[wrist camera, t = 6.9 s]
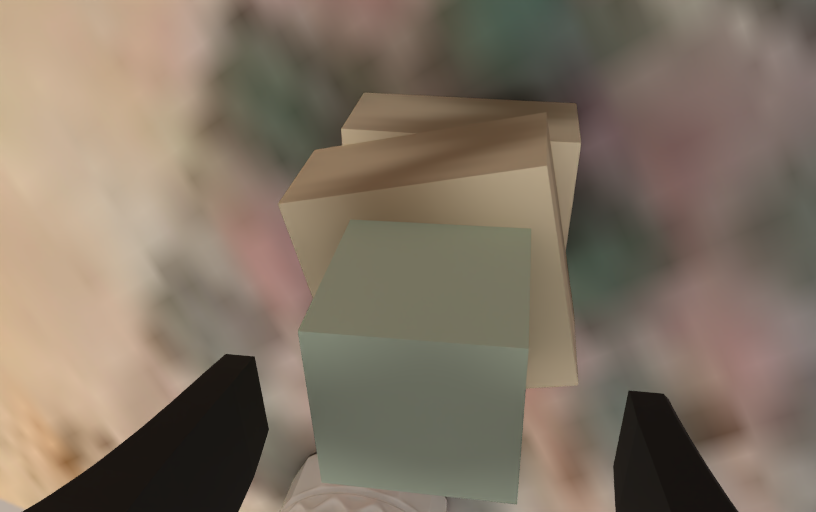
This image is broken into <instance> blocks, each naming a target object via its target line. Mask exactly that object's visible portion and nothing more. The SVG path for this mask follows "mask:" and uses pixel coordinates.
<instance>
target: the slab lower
mask: <svg viewBox="0 0 816 512" xmlns="http://www.w3.org/2000/svg"><path fill="white" fill-rule="evenodd" d="M545 112H546V114H547V121H548V128H549V136H550V143H551V150H552V157H553V165H554V172H555V179H556V186H557V194H558V201H559V208H560V216H561V223H562V230H563V237H564V245H565V252H566V245H567V238H568V231H569V224H570V217H571V210H572V204H573V197H574V190H575V183H576V176H577V169H578V162H579V155H580V148H581V137H580V129H579V121H578V113H577V105H576V103H559V102H539V101H520V100H500V99H481V98H461V97H442V96H422V95H403V94H383V93H363V95H362V97H361V98H360V100H359V101H358V103H357V104H356V106H355V108H354V109H353V111H352V112H351V114H350V116H349V117H348V119H347V120H346V122H345V123H344V125H343V127H342V128H341V135H342V146H343V145H349V144H355V143H361V142H367V141H373V140H379V139H386V138H392V137H398V136H404V135H410V134H416V133H422V132H428V131H434V130H440V129H446V128H452V127H459V126H465V125H471V124H477V123H483V122H489V121H495V120H502V119H508V118H514V117H520V116H526V115H532V114H538V113H545Z"/></svg>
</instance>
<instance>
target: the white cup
mask: <svg viewBox="0 0 816 512" xmlns="http://www.w3.org/2000/svg"><path fill="white" fill-rule="evenodd" d="M446 510H447V500H446V498H445V496H437V495H428V494H419V493H410V492H401V491H392V490H383V489H374V488H365V487H356V486H347V485H338V484H329V483H322V482H321V475H320V469H319V463H318V456H317V454H315V455H312V456H310V457H308V459H307V460H306V461H305V463H304V464H303V466H302V467H301V469H300V470H299V471H298V473H297V474H296V476H295V477H294V479H293V481H292V484H291V486H290V489H289V491H288V493H287V496H286V498H285V501H284V503H283V505H282V508H281V510H280V512H446Z"/></svg>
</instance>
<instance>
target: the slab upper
mask: <svg viewBox="0 0 816 512" xmlns="http://www.w3.org/2000/svg"><path fill="white" fill-rule="evenodd" d="M278 206H279V208H280V211H281V214H282V216H283V219H284V222H285V225H286V227H287V230H288V233H289V235H290V238H291V241H292V243H293V246H294V249H295V251H296V254H297V257H298V260H299V262H300V265H301V268H302V270H303V273H304V276H305V278H306V281H307V284H308V286H309V289H310V292H311V295H312V297H313V298H314V296H315V294H316V292H317V289H318V287H319V285H320V283H321V281H322V279H323V277H324V275H325V272H326V270H327V268H328V266H329V264H330V262H331V260H332V258H333V256H334V253H335V251H336V249H337V247H338V245H339V243H340V241H341V239H342V236H343V234H344V232H345V230H346V228H347V226H348V224H349V222H350V220H370V221H390V222H410V223H430V224H450V225H470V226H490V227H510V228H529V229H531V267H530V312H529V351H528V365H527V378H526V388H543V387H560V386H577V385H578V371H577V355H576V339H575V323H574V310H573V303H572V295H571V288H570V281H569V274H568V266H567V259H566V252H565V245H564V237H563V230H562V223H561V216H560V208H559V201H558V194H557V186H556V179H555V172H554V165H553V157H552V150H551V143H550V136H549V128H548V121H547V114H546V112H545V113H538V114H532V115H526V116H520V117H514V118H508V119H502V120H495V121H489V122H483V123H477V124H471V125H465V126H459V127H452V128H446V129H440V130H434V131H428V132H422V133H416V134H410V135H404V136H398V137H392V138H386V139H379V140H373V141H367V142H361V143H355V144H349V145H343V146H336V147H329V148H323V149H317V150H314V152H313V153H312V155H311V156H310V157H309V159H308V160H307V162H306V163H305V165H304V166H303V168H302V169H301V171H300V172H299V174H298V175H297V177H296V178H295V180H294V181H293V182H292V184H291V185H290V187H289V188H288V190H287V191H286V193H285V194H284V196H283V197H282V199H281V200H280V202H279V203H278Z"/></svg>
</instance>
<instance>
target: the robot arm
mask: <svg viewBox="0 0 816 512" xmlns="http://www.w3.org/2000/svg"><path fill="white" fill-rule="evenodd" d="M268 430H269V428H268V423H267V418H266V413H265V408H264V403H263V397H262V392H261V387H260V382H259V377H258V372H257V367H256V361H255V357H253V356H242V355H231V354H225V355H224V356H223V357H222V358H221V359H220V360H218V361H217V362H216V363H215V364H214V365H213V366H211V367H210V368H209V369H208V370H207V371H206V372H205V373H203V374H202V375H201V376H200V377H199V378H198V379H197V380H196V381H195V382H193V383H192V384H191V385H190V386H189V387H188V388H187V389H186V390H184V391H183V392H182V393H181V394H180V395H179V396H178V397H177V398H175V399H174V400H173V401H172V402H171V403H170V404H169V405H167V406H166V407H165V408H164V409H163V410H162V411H160V412H159V413H158V414H157V415H156V416H155V417H153V418H152V419H151V420H150V421H149V422H148V423H146V424H145V425H144V426H143V427H142V428H140V429H139V430H138V431H137V432H135V433H134V434H133V435H132V436H130V437H129V438H128V439H127V440H125V441H124V442H123V443H122V444H120V445H119V446H118V447H117V448H115V449H114V450H113V451H111V452H110V453H109V454H108V455H106V456H105V457H104V458H103V459H101V460H100V461H98V462H97V463H96V464H94V465H93V466H92V467H90V468H89V469H87V470H86V471H85V472H83V473H82V474H80V475H79V476H78V477H76V478H75V479H73V480H72V481H70V482H69V483H67V484H66V485H64V486H63V487H61V488H60V489H58V490H57V491H55V492H54V493H52V494H51V495H49V496H48V497H46V498H44V499H43V500H41V501H40V502H38V503H36V504H35V505H33V506H31V507H30V508H28V509H26V510H24V511H23V512H238V511H239V509H240V507H241V505H242V502H243V500H244V498H245V496H246V494H247V491H248V489H249V487H250V485H251V482H252V480H253V478H254V475H255V472H256V469H257V466H258V463H259V460H260V457H261V454H262V450H263V447H264V443H265V440H266V437H267V433H268ZM613 468H614V489H615V507H616V512H738V511H737V509H736V508H735V506H734V505H733V504H732V502H731V501H730V499H729V498H728V496H727V495H726V493H725V492H724V490H723V489H722V487H721V486H720V484H719V483H718V481H717V480H716V478H715V477H714V475H713V474H712V472H711V471H710V469H709V468H708V466H707V465H706V463H705V462H704V460H703V458H702V457H701V455H700V454H699V452H698V450H697V449H696V447H695V445H694V444H693V442H692V440H691V439H690V437H689V435H688V434H687V432H686V430H685V428H684V427H683V425H682V423H681V421H680V420H679V418H678V416H677V414H676V412H675V411H674V409H673V407H672V405H671V403H670V401H669V399H668V398H667V397H666V396H665V395H664V394H660V393H649V392H638V391H629V392H628V397H627V402H626V406H625V411H624V416H623V421H622V426H621V431H620V436H619V441H618V446H617V451H616V456H615V461H614V466H613Z"/></svg>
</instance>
